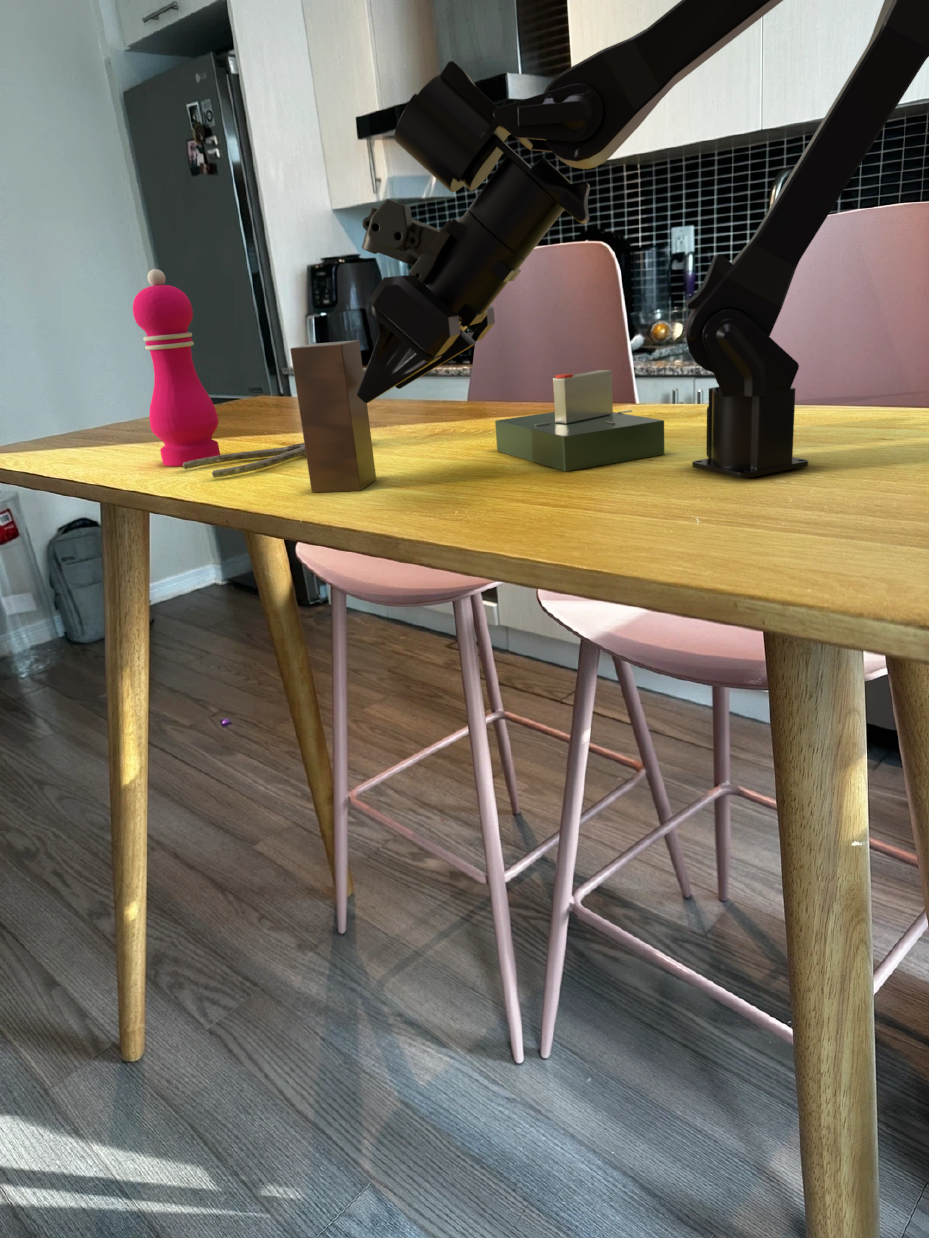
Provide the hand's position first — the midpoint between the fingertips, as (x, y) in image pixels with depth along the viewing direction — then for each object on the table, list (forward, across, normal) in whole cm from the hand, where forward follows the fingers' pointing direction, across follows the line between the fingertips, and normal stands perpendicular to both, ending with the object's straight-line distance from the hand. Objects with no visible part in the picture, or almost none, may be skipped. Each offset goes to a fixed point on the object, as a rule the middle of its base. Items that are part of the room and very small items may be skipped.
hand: (379, 392), depth 74 cm
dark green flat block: (-5, -10, +16) cm, 20 cm away
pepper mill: (+26, -17, -14) cm, 34 cm away
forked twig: (+18, -16, -7) cm, 25 cm away
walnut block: (+8, 0, +2) cm, 9 cm away
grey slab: (-8, -11, +15) cm, 20 cm away
